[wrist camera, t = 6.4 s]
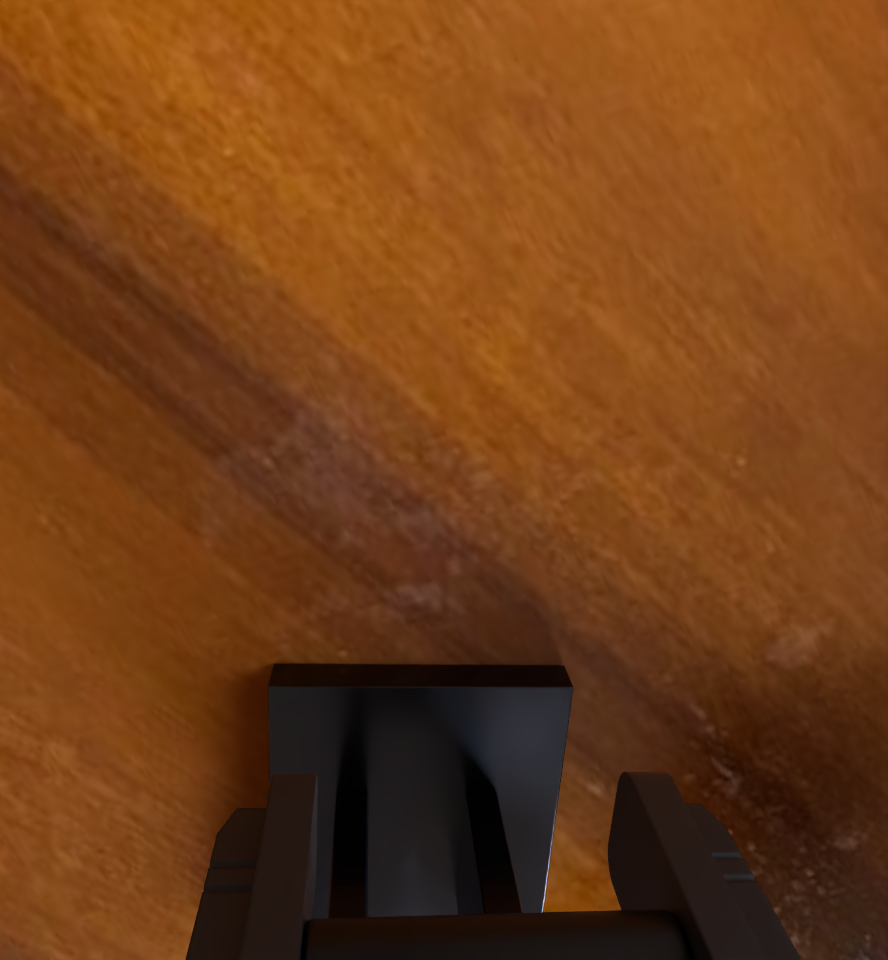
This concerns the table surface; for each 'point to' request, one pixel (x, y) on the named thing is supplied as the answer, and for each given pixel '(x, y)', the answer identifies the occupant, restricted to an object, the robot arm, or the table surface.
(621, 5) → the table surface
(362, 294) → the table surface
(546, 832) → the bracket
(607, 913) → the lever
